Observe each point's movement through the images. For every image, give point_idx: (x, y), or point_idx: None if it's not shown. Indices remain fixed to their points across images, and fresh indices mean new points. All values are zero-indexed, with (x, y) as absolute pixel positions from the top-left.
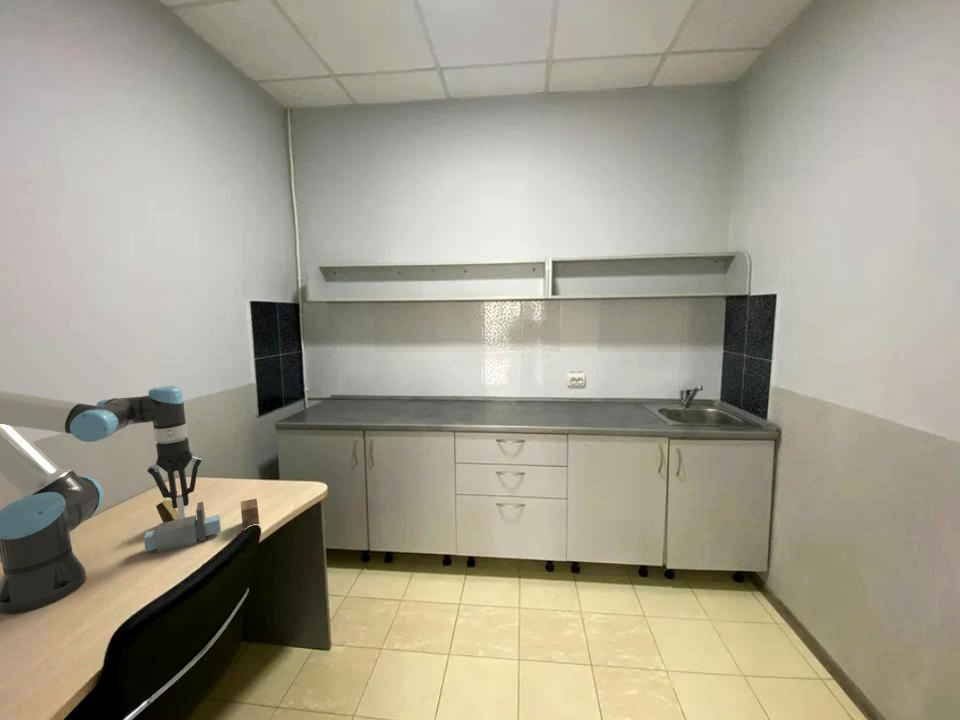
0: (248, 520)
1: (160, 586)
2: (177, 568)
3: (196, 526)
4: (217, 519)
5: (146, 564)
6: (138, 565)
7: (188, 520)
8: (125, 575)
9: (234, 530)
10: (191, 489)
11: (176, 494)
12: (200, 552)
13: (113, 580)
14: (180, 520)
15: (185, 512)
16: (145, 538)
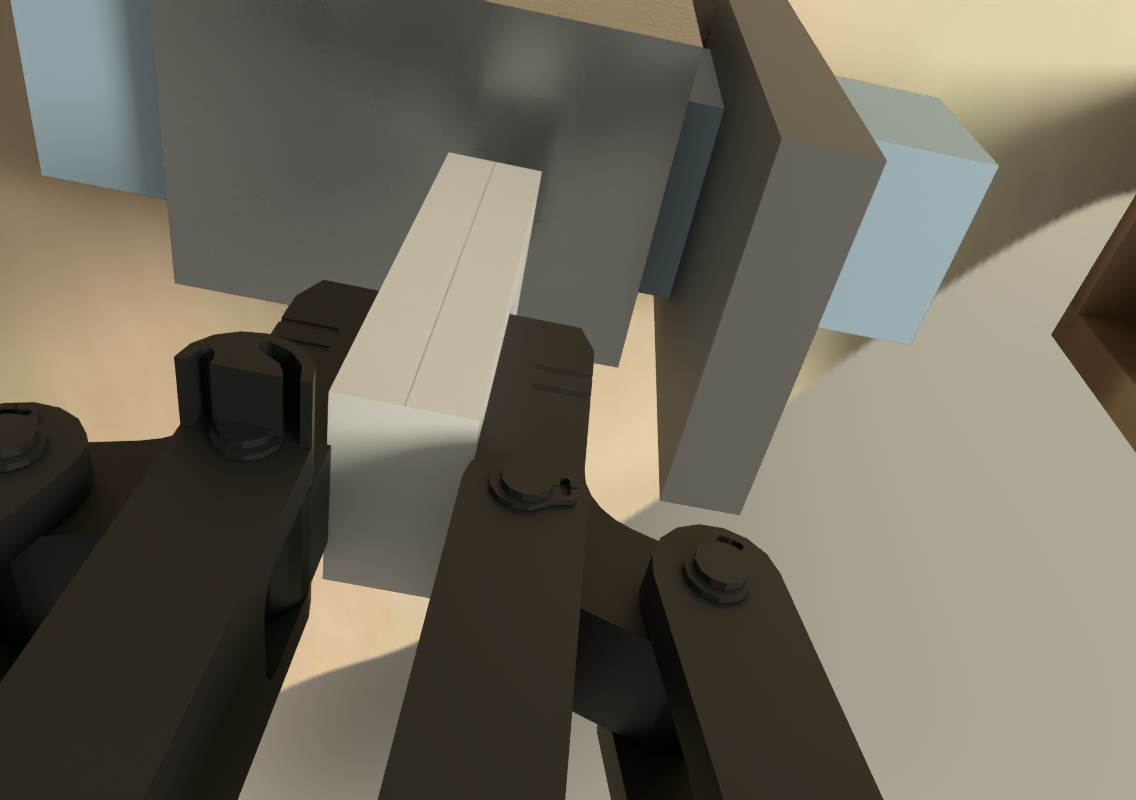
0: None
1: (352, 638)
2: None
3: (645, 286)
4: (904, 315)
5: (204, 299)
6: (137, 266)
7: (568, 186)
8: (80, 361)
9: (1019, 218)
10: (653, 758)
11: (308, 553)
12: (618, 421)
13: (11, 372)
14: (462, 80)
15: (527, 242)
16: (64, 172)
